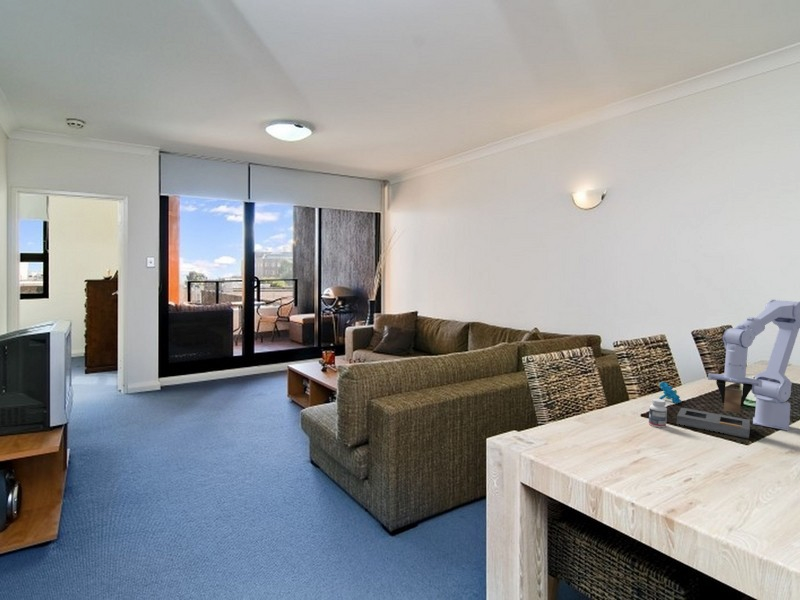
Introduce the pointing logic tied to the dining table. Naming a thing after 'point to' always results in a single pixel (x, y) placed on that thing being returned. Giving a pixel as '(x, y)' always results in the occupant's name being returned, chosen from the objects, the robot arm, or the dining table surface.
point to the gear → (669, 393)
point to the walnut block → (732, 400)
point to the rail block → (714, 422)
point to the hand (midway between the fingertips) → (732, 403)
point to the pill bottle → (658, 413)
